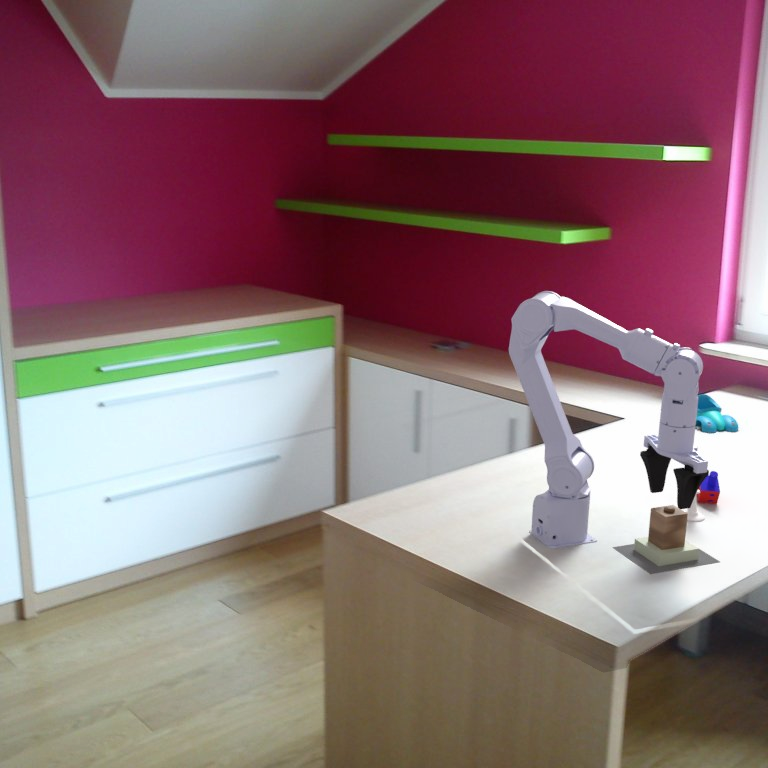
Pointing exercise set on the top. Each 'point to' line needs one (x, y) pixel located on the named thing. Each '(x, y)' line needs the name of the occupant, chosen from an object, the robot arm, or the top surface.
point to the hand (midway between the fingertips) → (670, 499)
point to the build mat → (653, 568)
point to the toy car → (713, 417)
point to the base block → (666, 552)
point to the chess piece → (694, 511)
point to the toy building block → (709, 489)
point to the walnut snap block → (667, 527)
